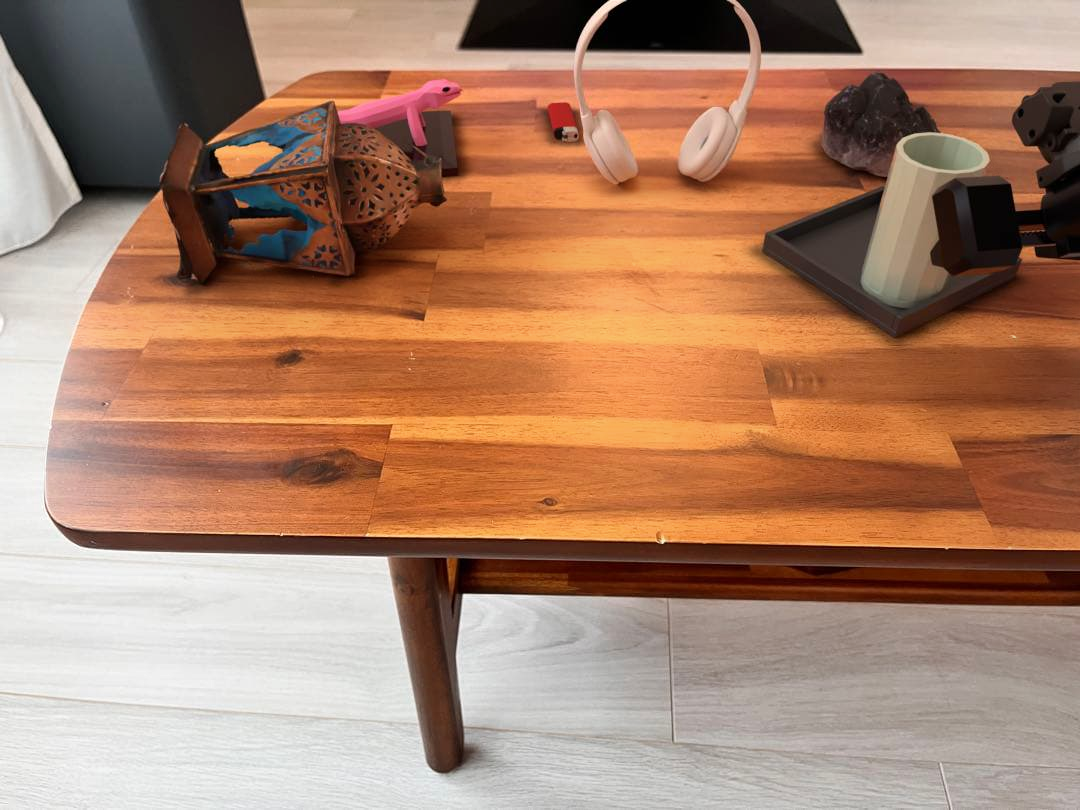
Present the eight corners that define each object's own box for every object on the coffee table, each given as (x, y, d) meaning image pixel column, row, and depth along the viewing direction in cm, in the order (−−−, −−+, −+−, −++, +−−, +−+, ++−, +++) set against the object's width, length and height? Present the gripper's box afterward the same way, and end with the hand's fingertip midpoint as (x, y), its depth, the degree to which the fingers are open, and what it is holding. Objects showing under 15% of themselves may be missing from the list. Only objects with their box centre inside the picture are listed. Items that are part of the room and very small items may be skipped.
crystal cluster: (927, 136, 105) (943, 48, 99) (953, 182, 95) (972, 87, 89) (809, 138, 107) (818, 52, 101) (821, 184, 97) (832, 91, 91)
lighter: (570, 102, 109) (579, 131, 103) (570, 111, 110) (579, 141, 104) (547, 103, 109) (554, 132, 103) (547, 113, 109) (554, 142, 103)
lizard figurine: (471, 174, 98) (467, 109, 93) (285, 187, 96) (271, 122, 91) (463, 117, 109) (459, 56, 104) (296, 127, 107) (283, 66, 102)
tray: (1015, 278, 82) (1023, 258, 81) (894, 338, 76) (901, 318, 75) (878, 203, 93) (883, 185, 91) (761, 251, 86) (765, 232, 85)
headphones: (569, 165, 99) (572, -26, 86) (734, 160, 100) (762, -31, 86) (574, 198, 94) (578, -1, 81) (748, 192, 95) (780, -6, 81)
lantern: (212, 315, 90) (460, 283, 91) (149, 272, 74) (451, 234, 75) (196, 160, 92) (439, 131, 93) (131, 86, 76) (426, 51, 77)
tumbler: (945, 313, 78) (995, 177, 69) (861, 303, 79) (899, 167, 70) (937, 269, 83) (983, 136, 74) (859, 260, 84) (894, 128, 75)
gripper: (1258, 51, 57) (1069, 149, 72) (1002, 57, 53) (860, 159, 68) (1294, 221, 56) (1094, 284, 71) (1035, 240, 52) (883, 302, 67)
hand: (985, 254), depth 69 cm, fingers open, 9 cm apart
